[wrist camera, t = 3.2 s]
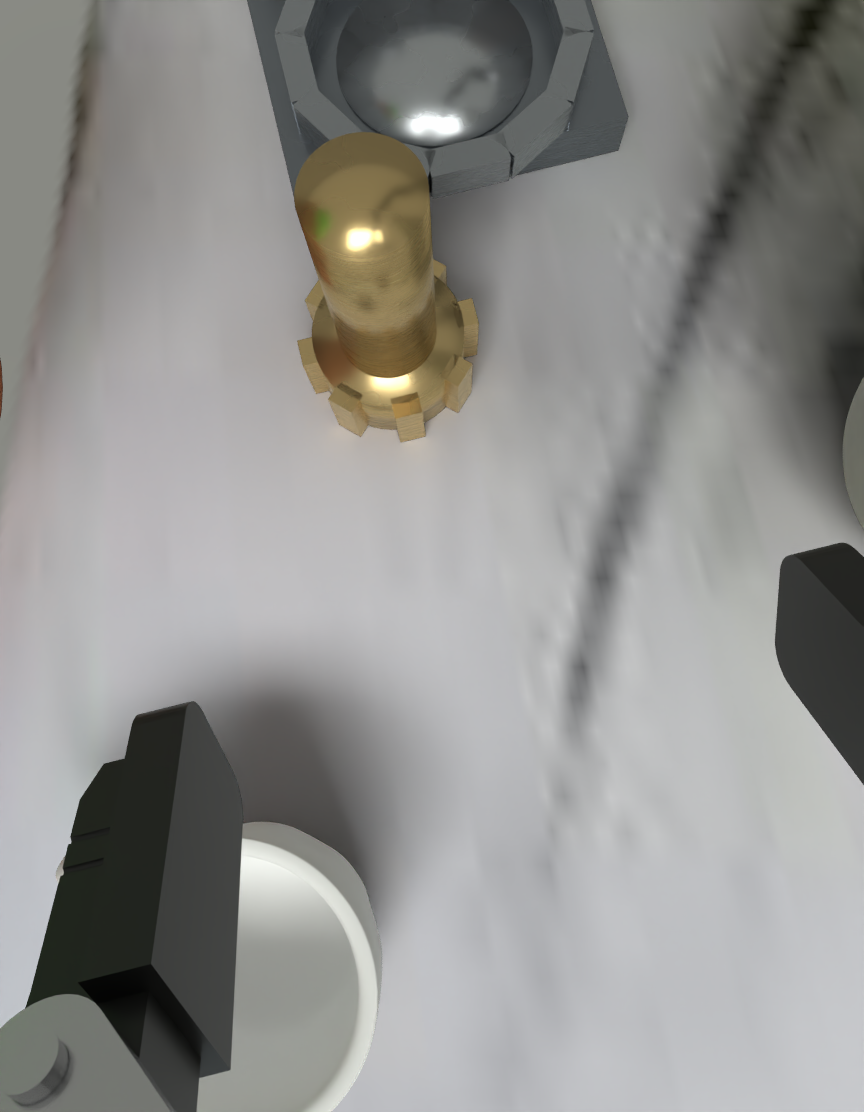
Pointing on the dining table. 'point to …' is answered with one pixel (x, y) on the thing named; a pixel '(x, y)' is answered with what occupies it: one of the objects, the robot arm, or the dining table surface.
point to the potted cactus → (1, 388)
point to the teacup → (297, 977)
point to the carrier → (443, 82)
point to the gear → (379, 290)
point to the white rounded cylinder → (855, 453)
